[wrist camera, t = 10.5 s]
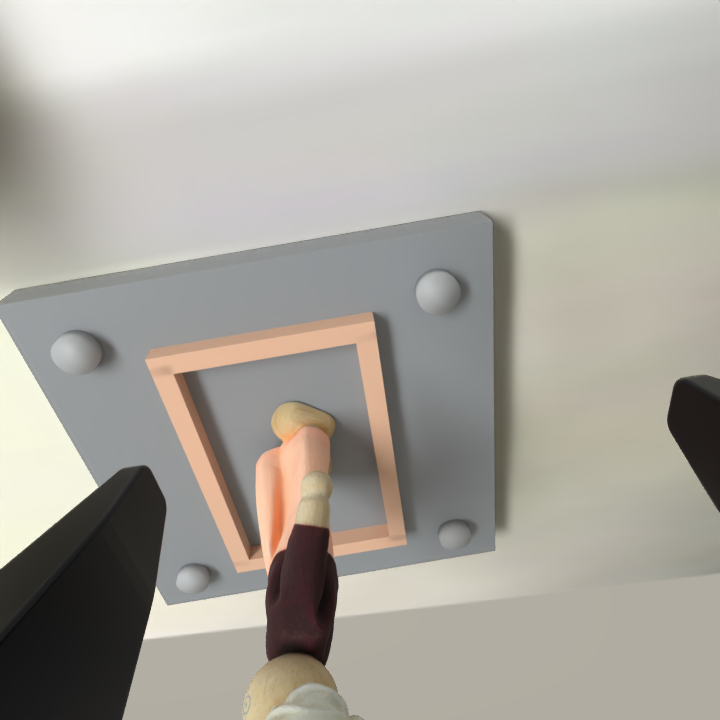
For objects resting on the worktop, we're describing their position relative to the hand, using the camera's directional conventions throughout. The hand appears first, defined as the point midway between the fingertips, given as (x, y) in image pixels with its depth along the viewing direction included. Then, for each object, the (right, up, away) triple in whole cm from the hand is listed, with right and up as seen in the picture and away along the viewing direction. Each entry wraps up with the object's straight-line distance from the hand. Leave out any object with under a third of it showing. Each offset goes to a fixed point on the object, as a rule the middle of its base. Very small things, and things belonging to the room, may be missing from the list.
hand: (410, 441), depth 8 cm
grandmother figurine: (-3, -3, +14) cm, 15 cm away
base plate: (-4, -2, +15) cm, 16 cm away
